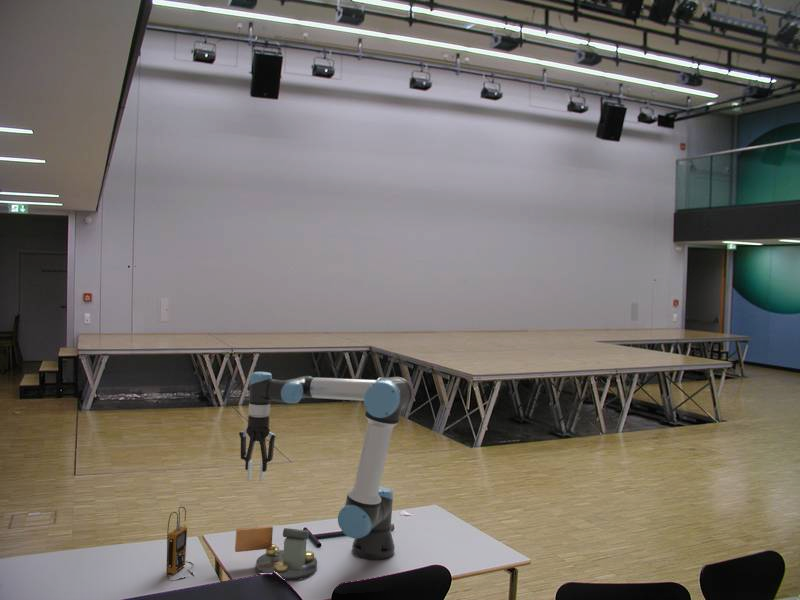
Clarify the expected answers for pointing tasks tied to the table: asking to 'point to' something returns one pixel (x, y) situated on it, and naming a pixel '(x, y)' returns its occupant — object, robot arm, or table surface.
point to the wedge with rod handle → (295, 547)
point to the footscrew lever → (256, 540)
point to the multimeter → (176, 547)
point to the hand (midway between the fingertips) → (255, 479)
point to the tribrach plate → (291, 573)
